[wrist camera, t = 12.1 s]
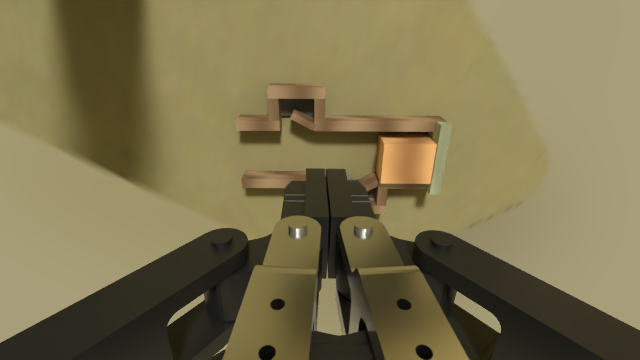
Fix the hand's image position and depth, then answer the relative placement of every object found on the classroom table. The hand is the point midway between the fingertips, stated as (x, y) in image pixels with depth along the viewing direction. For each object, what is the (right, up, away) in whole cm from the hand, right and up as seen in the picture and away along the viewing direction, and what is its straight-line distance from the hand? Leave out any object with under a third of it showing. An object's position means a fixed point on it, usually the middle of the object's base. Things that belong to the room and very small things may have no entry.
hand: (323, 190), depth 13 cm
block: (+10, +4, +29) cm, 31 cm away
